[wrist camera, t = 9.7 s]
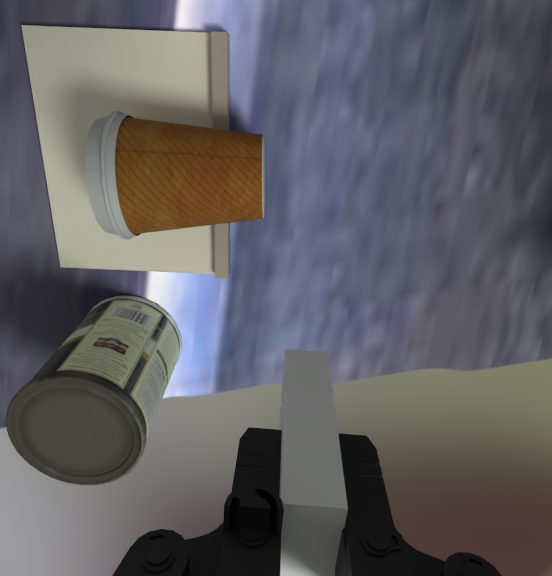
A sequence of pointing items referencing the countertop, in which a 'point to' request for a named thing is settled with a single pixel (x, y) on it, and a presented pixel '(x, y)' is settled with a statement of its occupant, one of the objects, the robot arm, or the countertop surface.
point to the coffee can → (97, 393)
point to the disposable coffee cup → (171, 175)
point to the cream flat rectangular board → (139, 104)
